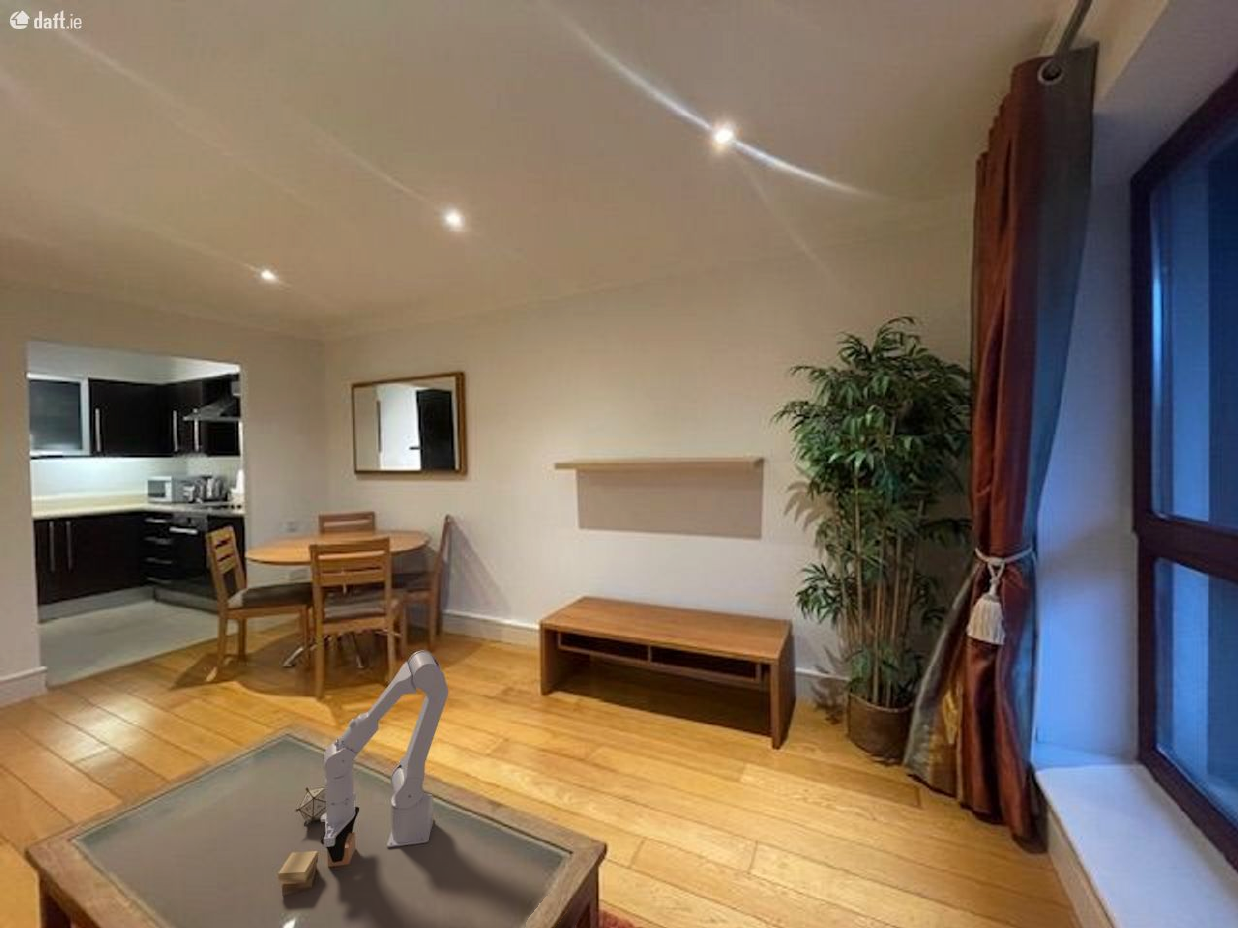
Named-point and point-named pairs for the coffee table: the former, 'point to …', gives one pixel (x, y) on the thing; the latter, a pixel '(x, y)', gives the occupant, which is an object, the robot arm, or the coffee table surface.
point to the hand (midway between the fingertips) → (341, 851)
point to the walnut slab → (299, 885)
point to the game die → (313, 804)
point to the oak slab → (298, 867)
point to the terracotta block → (347, 854)
